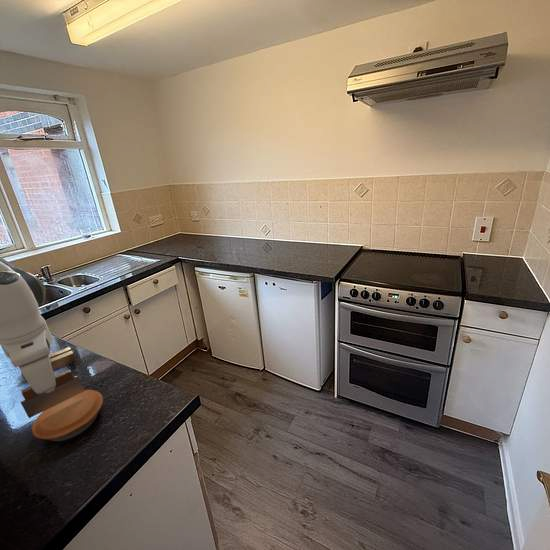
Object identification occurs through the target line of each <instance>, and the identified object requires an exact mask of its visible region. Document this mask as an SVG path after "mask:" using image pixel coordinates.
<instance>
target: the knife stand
mask: <svg viewBox="0 0 550 550" xmlns="http://www.w3.org/2000/svg"><path fill="white" fill-rule="evenodd" d="M49 358H50V362H51V366H52V370H53V371H55V370H58V369H60V368H63V367H65V366H67V365H69V364H72V363H74V362H76V361H77V358H76V357H75V354H74V352H73V349H72V348H71V346H68V347H65V348H62V349H60V350H58V351H55V352H53V353H50V354H49ZM20 375H21V377H22V379H23V381H24V383H28V382H27V380H26V379H25V377H24V376H23V374H22V372H21V371H20Z"/></svg>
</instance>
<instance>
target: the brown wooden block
mask: <svg viewBox="0 0 550 550" xmlns="http://www.w3.org/2000/svg"><path fill="white" fill-rule="evenodd" d="M54 377H55V381H56V386H55V387H54V388H55V390H54V391H52V392H50V393H46V392H44V393H42V394H37V393H35V392H34V390H33V389H32V388H31V386H30V385H29V386H28V387H25V388H23V389H21V390H20V391H21V395H22V397H23V399H24V400H21V401H20V402H19V403H20V404H21V406H22V408H23V410H24V412H25V414H26V416H27V418H28V419H31V418H33V417H36V415H40V414H41V413H42V412H43V411H45V410H47V409H49V408H51V407H53V406H55V405H57V404H59V403H61V402H63V401H65V400H67V399H69V398H71V397H73V396H75V395H78V394H80V393H82V392H84V391H85V388H84V387H83V384H82V381H81V379H80V377H79V375H76V376H74V374H73V373H72V370H71V369H70V368H69V369H65V370H64V371H62V372H59V373H57V374H54Z"/></svg>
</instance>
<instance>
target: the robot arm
mask: <svg viewBox="0 0 550 550" xmlns="http://www.w3.org/2000/svg"><path fill="white" fill-rule="evenodd" d="M46 291H47V290H46V286H45V284H44V282H43V281H42V279H40V278H38V276H36V275H34V274H33V273H30V272H28V271H25V270H23V269H21V268H20V267H17V266H16V265H14V264H12V263H11V262H10V261H8V260H6V259H5V258H3V257H1V256H0V347H1V349H2V351H3V353H4V355H5V357H7V358H8V359H9V360H10V362H11V364H12V366H13V367H14V368H18V369H19V371H20V373H21V372H22V374H23V376H24V377H25V379H26V380H27V382H26V383H28V385H29V387H30V386H31V388H32V389H33V390H34V392H35V393H37V394H42V393H44V392H46V393H50V392H52V391H54V390H55V388H54V387H55V386H56V381H55V377H54V376H55V373H54V370H52V366H51V362H50V358H49V355H50V354H52V352H51V343H52V341H53V336H52V334H51V333H52V332H51V331H50V329H49V326H48V324H47V322H46V320H45V318H44V317H43V316H42V315H41V313H40V310H39V308H40V307H41V306H42V305H43V304H44V302H45V298H46V294H47V293H46Z"/></svg>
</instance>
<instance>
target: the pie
mask: <svg viewBox="0 0 550 550" xmlns="http://www.w3.org/2000/svg"><path fill="white" fill-rule="evenodd" d="M103 404H104V397H103V395H102V393H101V392H99V391H97V390H93V389H84V392H82V393H80V394H78V395H75V396H73V397H71V398H69V399H67V400H65V401H63V402H61V403H59V404H57V405H55V406H53V407H51V408H49V409H47V410H45V411H43V412H41V413H39V414H38V416H37V417H36V419H35V420H34V422H33V424H32V427H31V431H32V435H33V436H34V437H35V438H36V439H41V440H48V441H52V442H64V441H68V440H70V439H73V438H74V437H76V436H78V435H79V436H80V435H81V434H82V433H83V432H85V431H87V429H89V428H90V427H91V426H92V425H93V423H94V422H95V420H96V419H97V417H98V414H99V412H100V411H101V408H102V406H103Z"/></svg>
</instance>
